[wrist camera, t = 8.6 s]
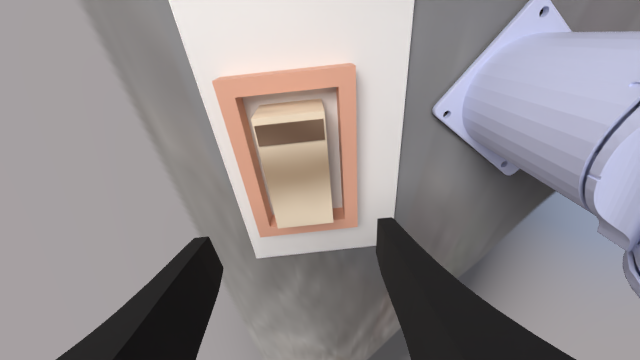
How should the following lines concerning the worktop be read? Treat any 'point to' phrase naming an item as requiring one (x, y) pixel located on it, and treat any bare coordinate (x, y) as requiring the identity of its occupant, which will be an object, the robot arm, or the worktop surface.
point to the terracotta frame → (244, 149)
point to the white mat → (310, 92)
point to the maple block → (295, 161)
